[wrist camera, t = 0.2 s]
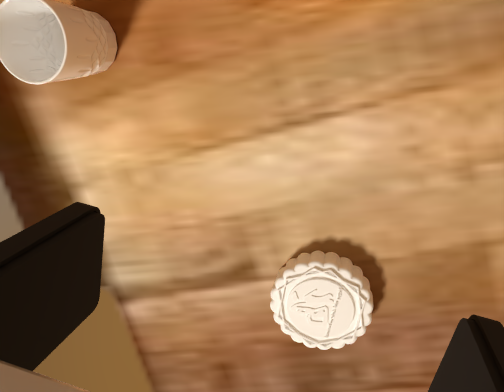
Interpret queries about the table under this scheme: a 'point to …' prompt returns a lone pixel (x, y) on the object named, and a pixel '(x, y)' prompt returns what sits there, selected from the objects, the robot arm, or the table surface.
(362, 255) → the table surface
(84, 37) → the white cup
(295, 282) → the mooncake
